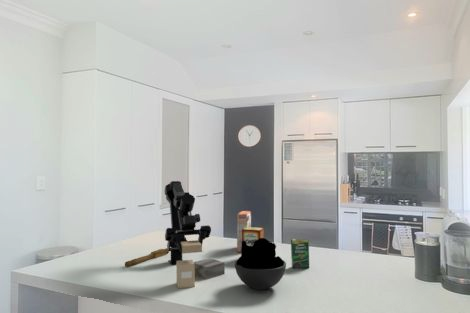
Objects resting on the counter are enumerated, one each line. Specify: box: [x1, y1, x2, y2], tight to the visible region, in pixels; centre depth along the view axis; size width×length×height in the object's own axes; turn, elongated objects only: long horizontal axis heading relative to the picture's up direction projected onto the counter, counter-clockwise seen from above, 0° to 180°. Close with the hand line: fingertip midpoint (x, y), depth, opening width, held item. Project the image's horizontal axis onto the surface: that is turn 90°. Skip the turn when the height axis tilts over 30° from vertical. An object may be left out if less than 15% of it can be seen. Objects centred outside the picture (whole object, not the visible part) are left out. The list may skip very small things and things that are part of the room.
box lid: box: [181, 239, 203, 255], centre depth 144 cm, size 8×8×3 cm
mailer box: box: [176, 259, 196, 289], centre depth 142 cm, size 6×6×9 cm
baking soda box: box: [242, 226, 265, 246], centre depth 178 cm, size 10×6×16 cm
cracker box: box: [236, 210, 252, 253], centre depth 199 cm, size 14×6×21 cm, turn 168°
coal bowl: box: [234, 237, 287, 291], centre depth 138 cm, size 20×20×19 cm
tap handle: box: [124, 248, 170, 268], centre depth 179 cm, size 3×3×30 cm
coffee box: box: [290, 238, 310, 269], centre depth 164 cm, size 8×3×13 cm, turn 92°
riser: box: [193, 257, 226, 280], centre depth 155 cm, size 10×10×5 cm
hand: (191, 250), depth 142 cm, fingers closed on box lid, 8 cm apart
